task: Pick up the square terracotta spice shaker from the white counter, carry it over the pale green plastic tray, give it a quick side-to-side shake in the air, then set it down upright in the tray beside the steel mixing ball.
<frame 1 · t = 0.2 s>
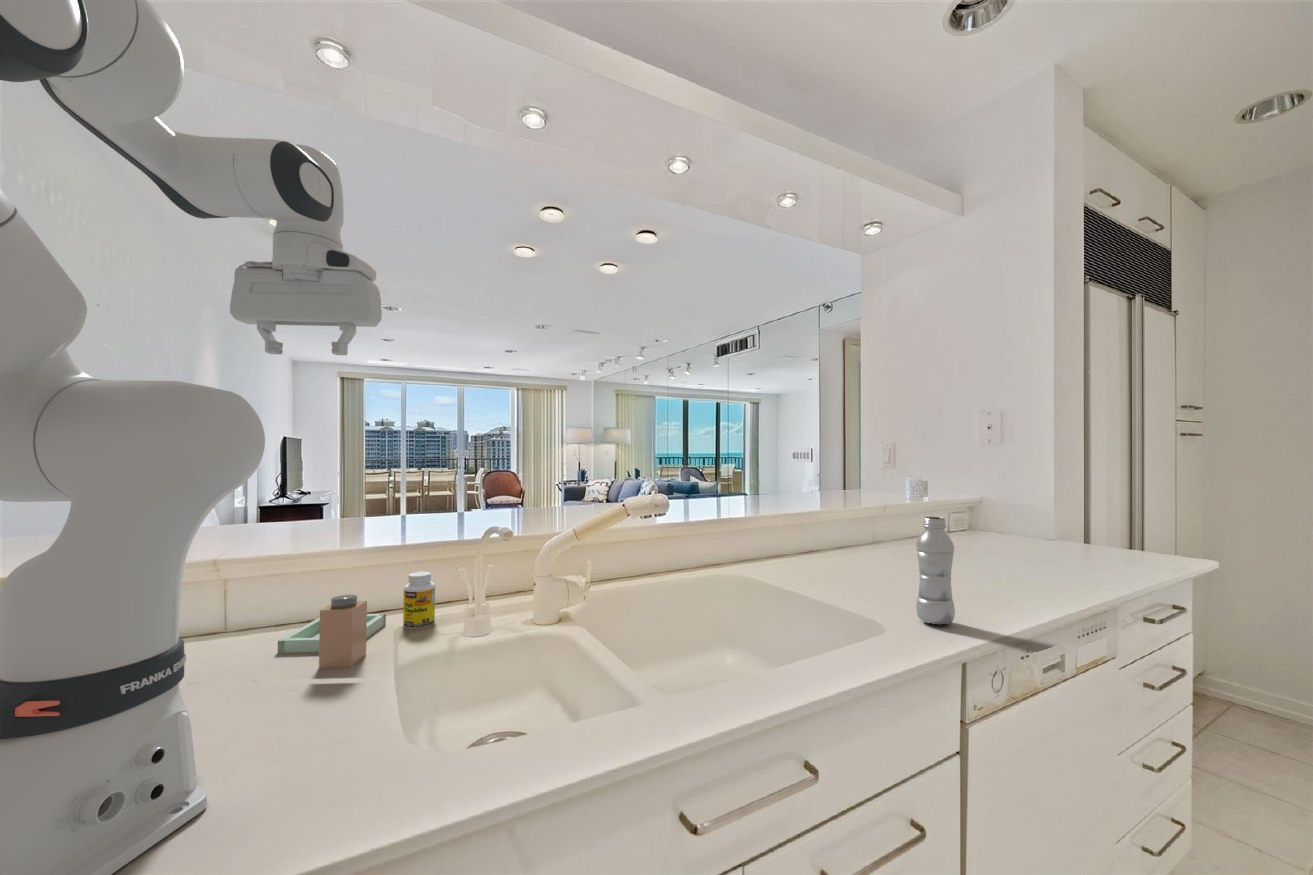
hand: (306, 354, 78), 47 cm above the worktop, tool pointing down, fingers open, 8 cm apart
supplement bottle: (419, 627, 97), on the worktop
shaker: (343, 665, 80), on the worktop
tray: (335, 640, 90), on the worktop
mixing ball: (334, 630, 93), point 1 cm above the worktop, touching tray
plastic bottle: (935, 624, 99), on the worktop
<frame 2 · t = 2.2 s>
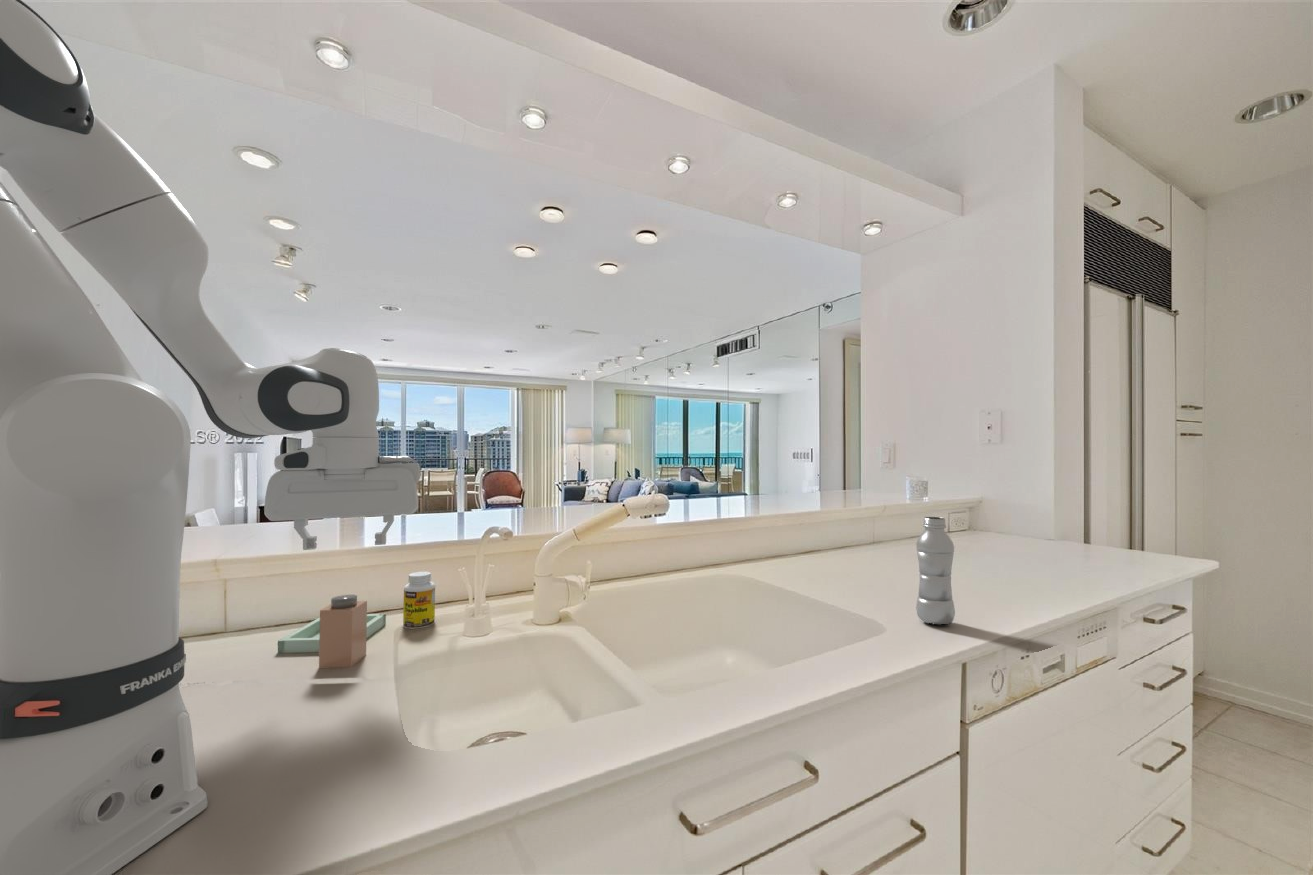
hand: (346, 546, 80), 18 cm above the worktop, tool pointing down, fingers open, 8 cm apart
nothing on the worktop moved.
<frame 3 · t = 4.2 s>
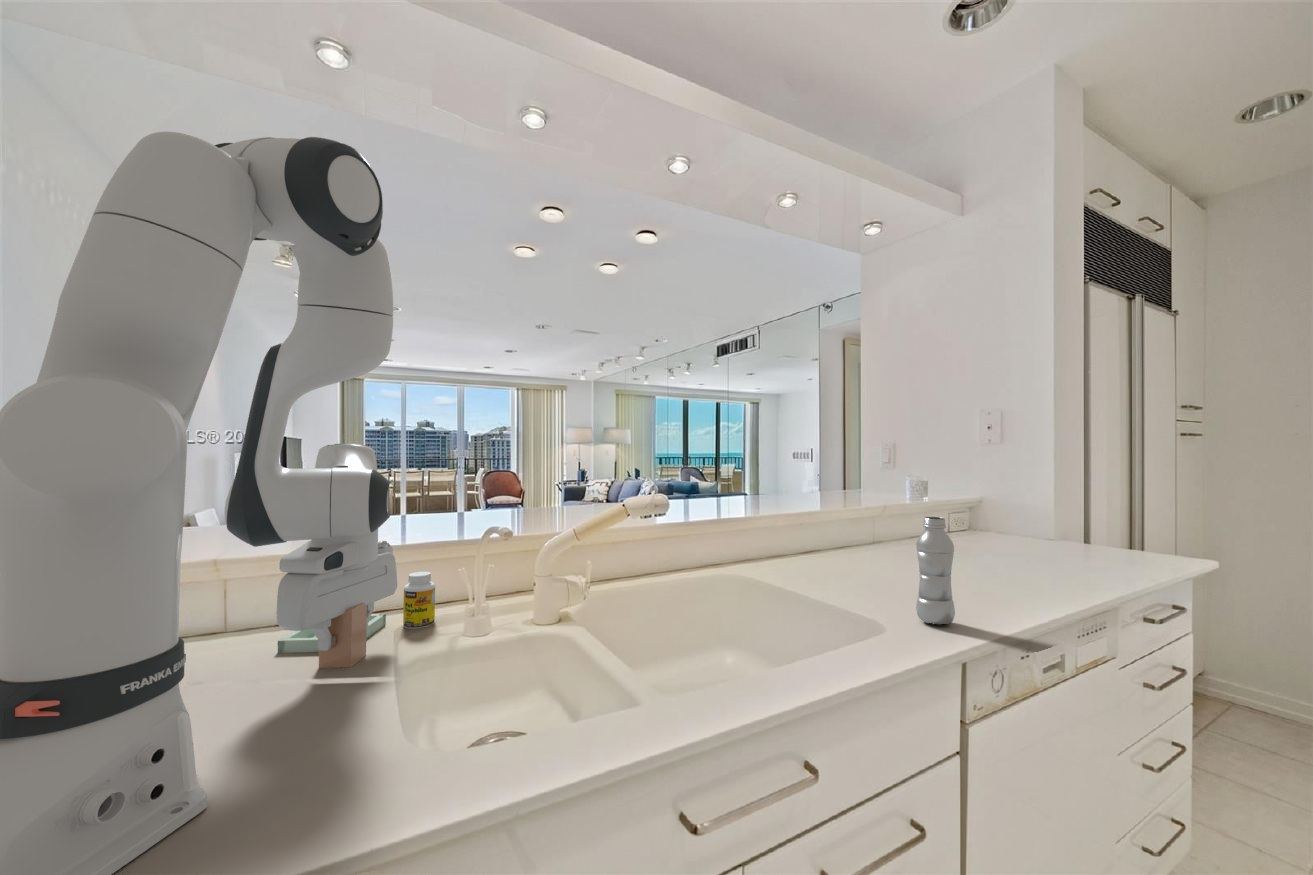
hand: (343, 640, 80), 4 cm above the worktop, tool pointing down, fingers closed on shaker, 5 cm apart
shaker: (343, 664, 80), on the worktop, touching gripper
everything else where it was.
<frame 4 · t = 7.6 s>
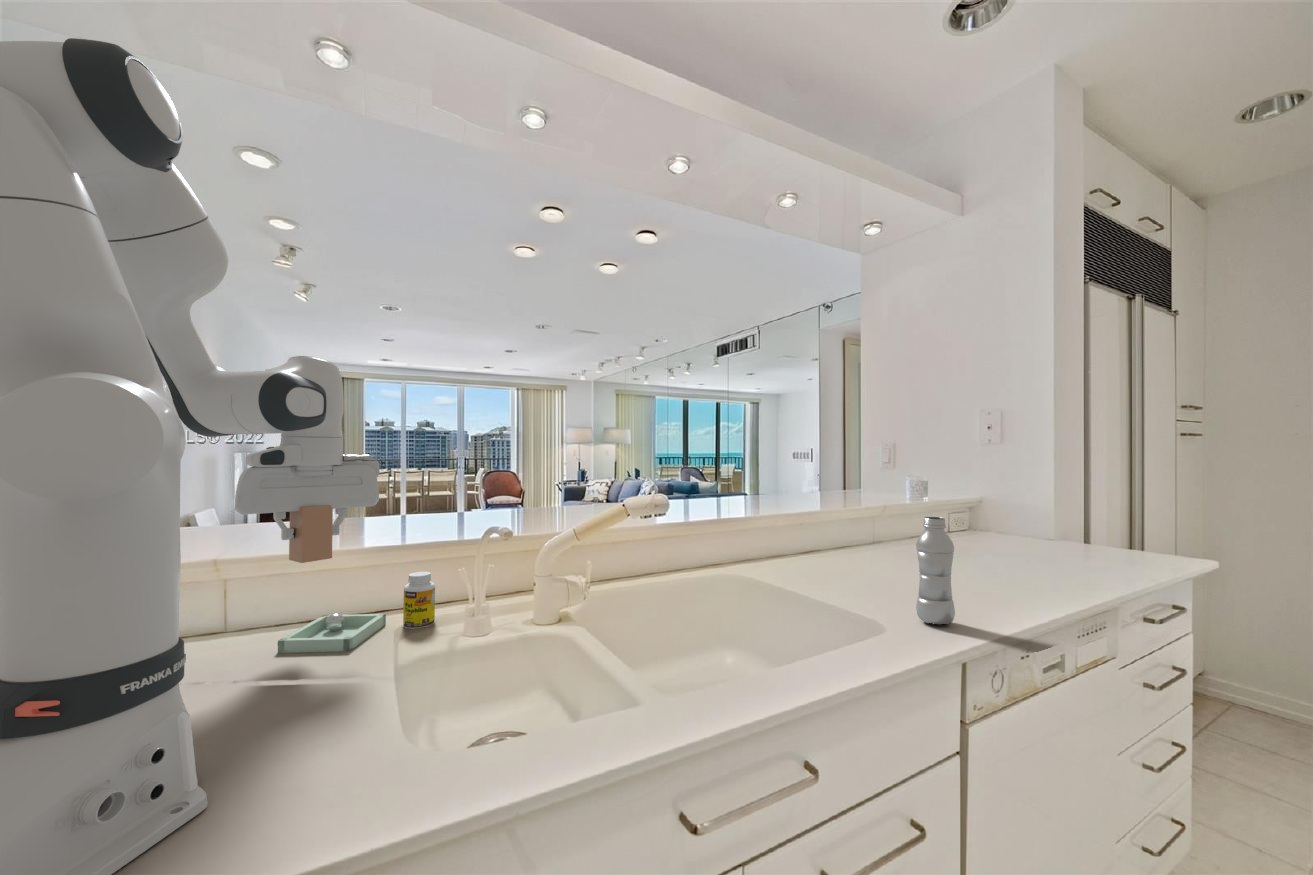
hand: (310, 537, 88), 18 cm above the worktop, tool pointing down, fingers closed on shaker, 5 cm apart
shaker: (310, 559, 88), point 14 cm above the worktop, touching gripper
everything else where it was.
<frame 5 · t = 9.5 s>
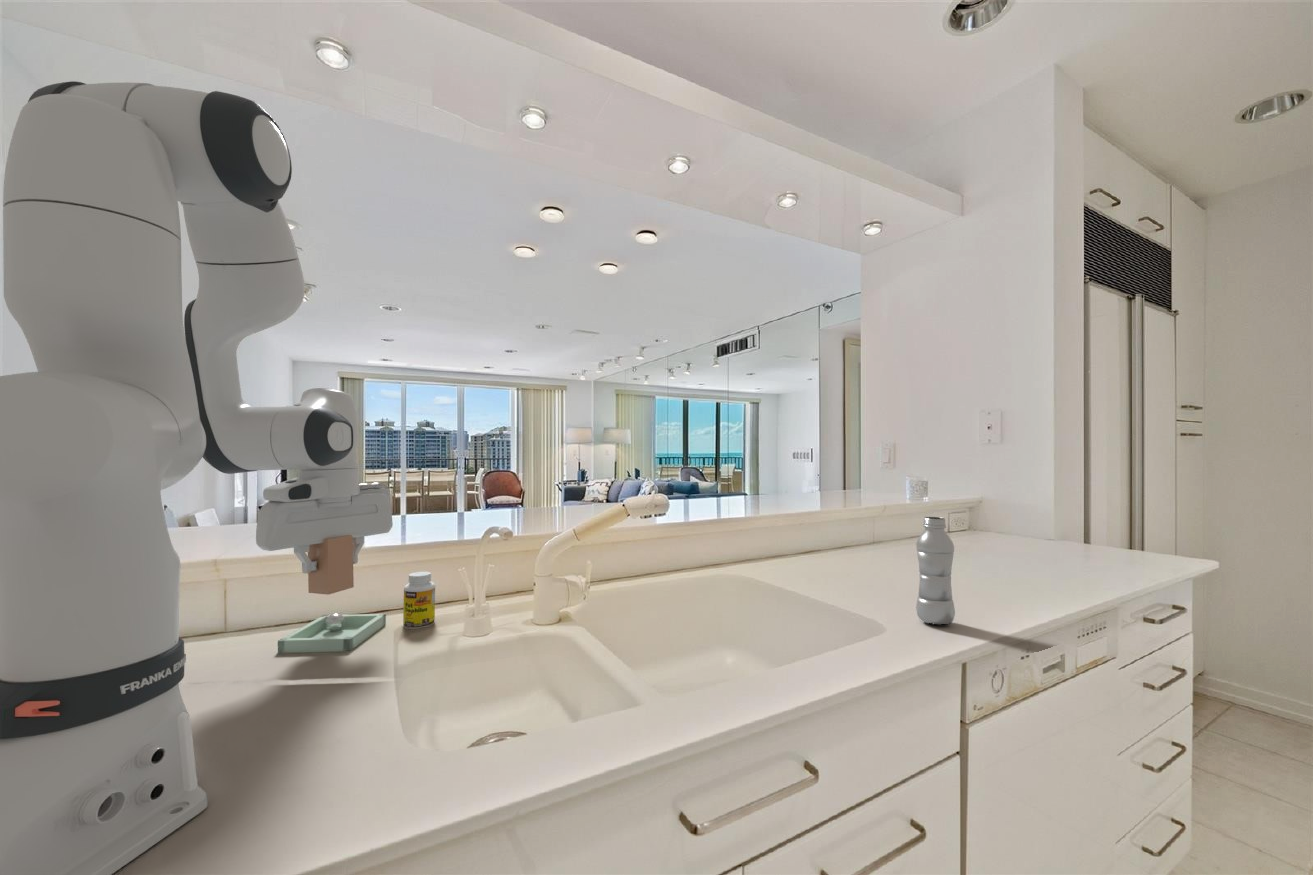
hand: (330, 568, 88), 13 cm above the worktop, tool pointing down, fingers closed on shaker, 5 cm apart
shaker: (331, 590, 88), point 9 cm above the worktop, touching gripper
everything else where it was.
when the fingers open (6 cm above the worktop, at t = 11.2 s): shaker drops 1 cm, resting on tray.
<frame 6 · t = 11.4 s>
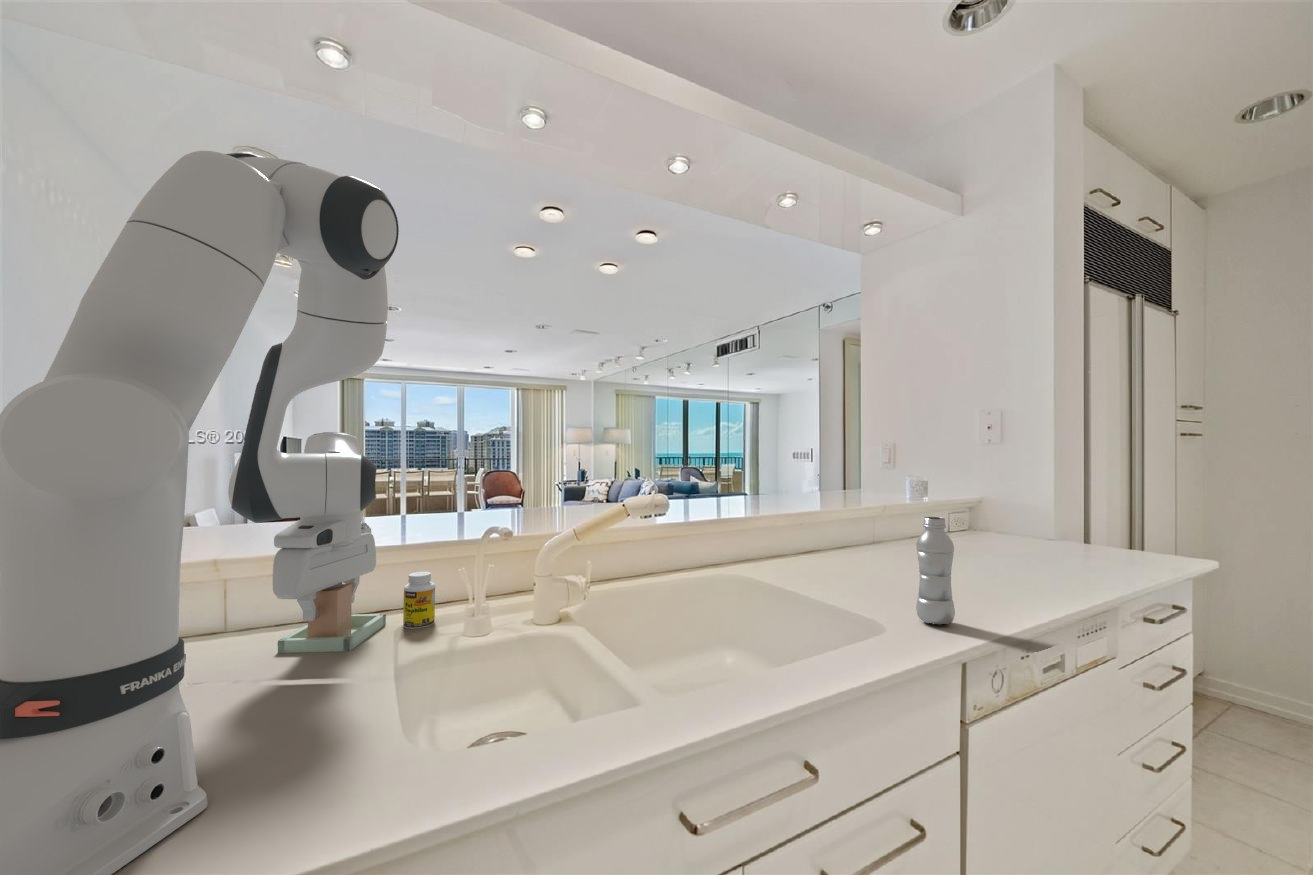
hand: (329, 611, 88), 6 cm above the worktop, tool pointing down, fingers open, 7 cm apart
shaker: (329, 641, 88), point 1 cm above the worktop, touching tray
everything else where it was.
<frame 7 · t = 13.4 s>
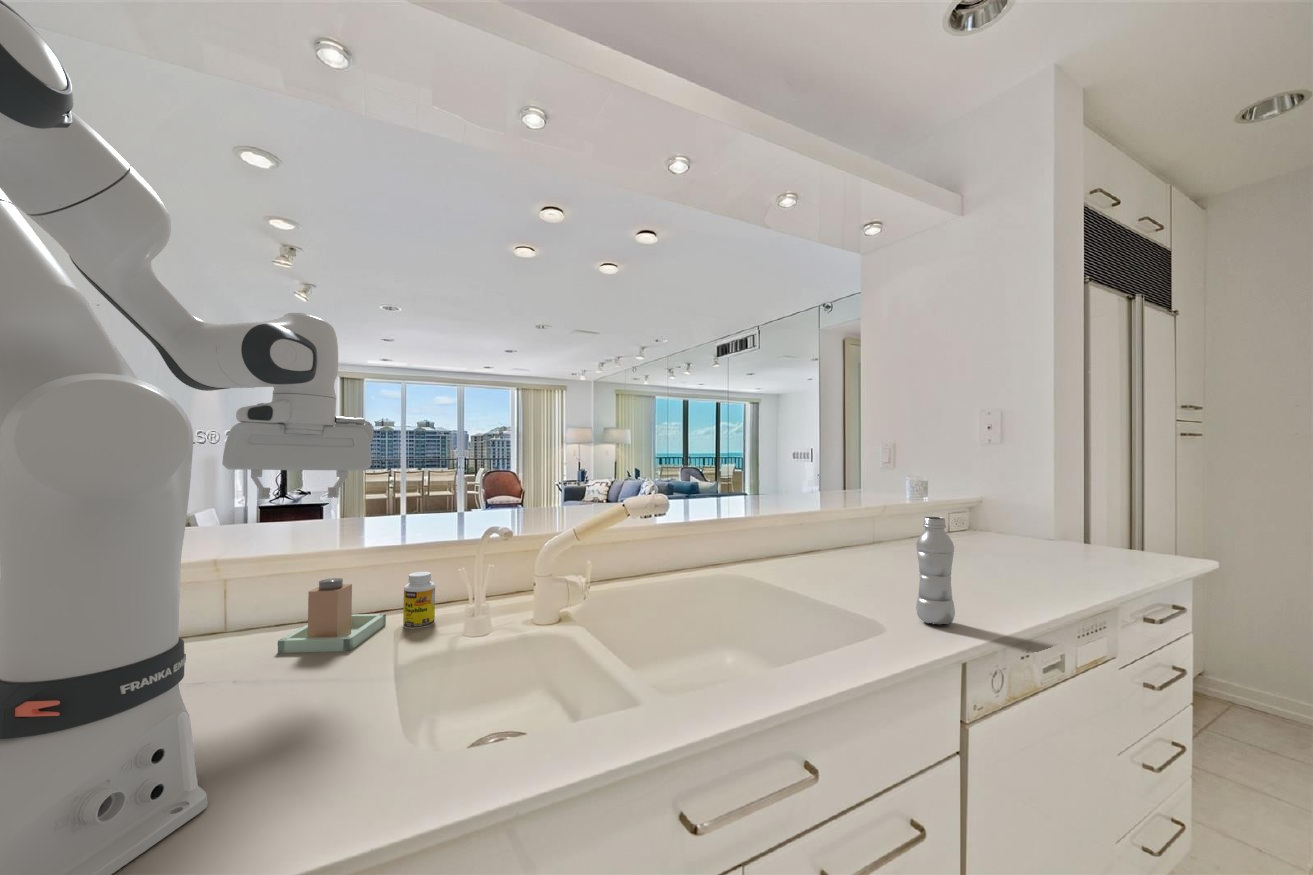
hand: (299, 498, 86), 25 cm above the worktop, tool pointing down, fingers open, 8 cm apart
nothing on the worktop moved.
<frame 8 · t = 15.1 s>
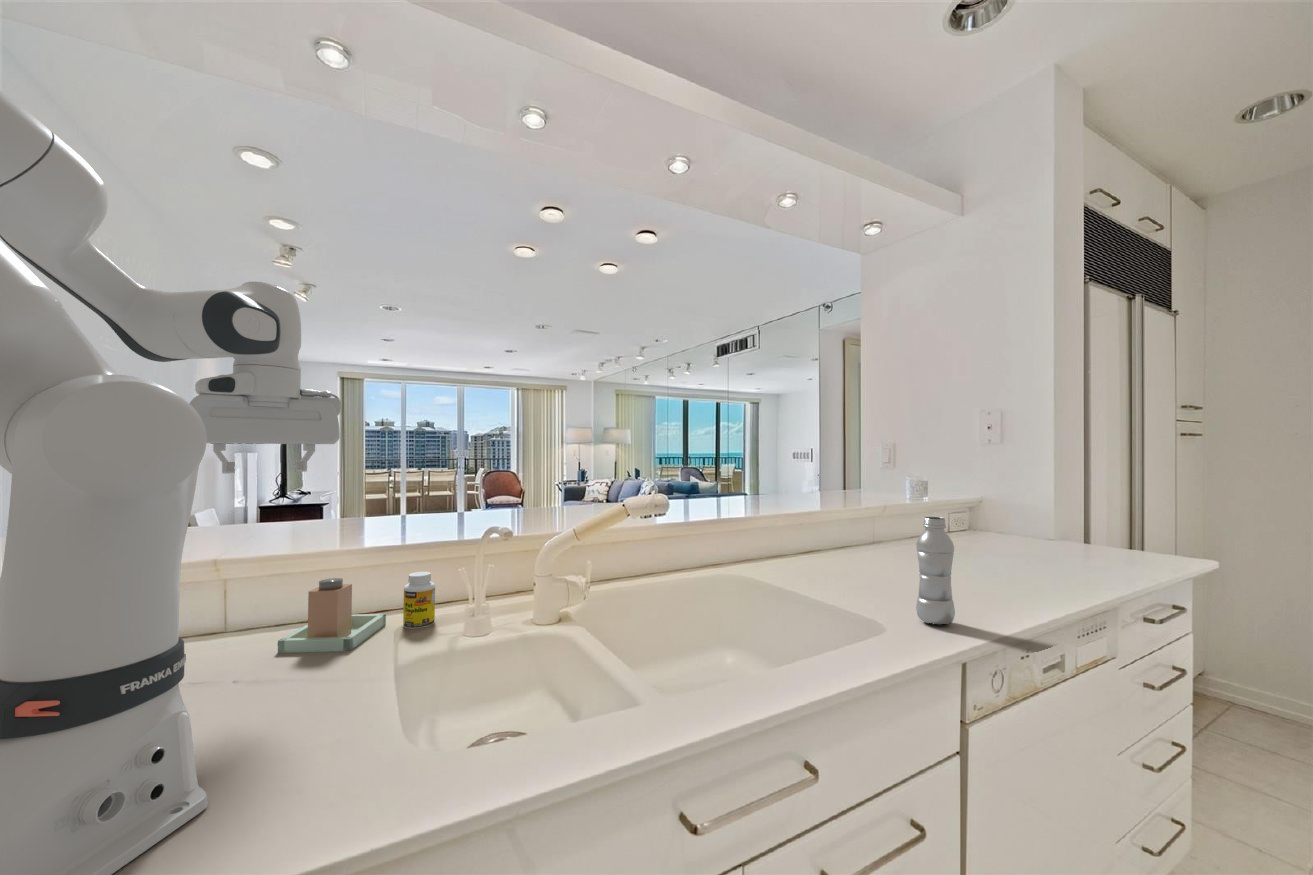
hand: (265, 472, 84), 29 cm above the worktop, tool pointing down, fingers open, 8 cm apart
nothing on the worktop moved.
at the end: shaker inside the target area on the tray (2.1 cm from its centre), point 0.6 cm above the tray's base; shaker tilted 0°; the gripper is holding nothing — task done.
